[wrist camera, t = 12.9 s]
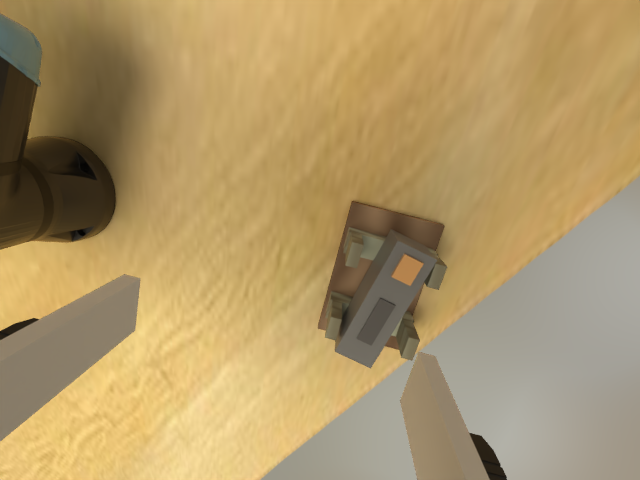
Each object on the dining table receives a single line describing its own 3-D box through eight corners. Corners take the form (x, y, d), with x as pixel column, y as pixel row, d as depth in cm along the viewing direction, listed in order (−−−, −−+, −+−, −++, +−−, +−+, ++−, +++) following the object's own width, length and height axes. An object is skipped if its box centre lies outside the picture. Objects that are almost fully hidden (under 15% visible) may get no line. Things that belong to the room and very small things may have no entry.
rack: (318, 324, 51) (312, 359, 42) (352, 201, 46) (353, 211, 37) (398, 345, 51) (409, 384, 42) (442, 224, 45) (464, 240, 37)
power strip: (336, 327, 46) (334, 353, 40) (390, 228, 42) (398, 241, 36) (367, 341, 46) (370, 370, 40) (425, 245, 42) (438, 261, 36)
